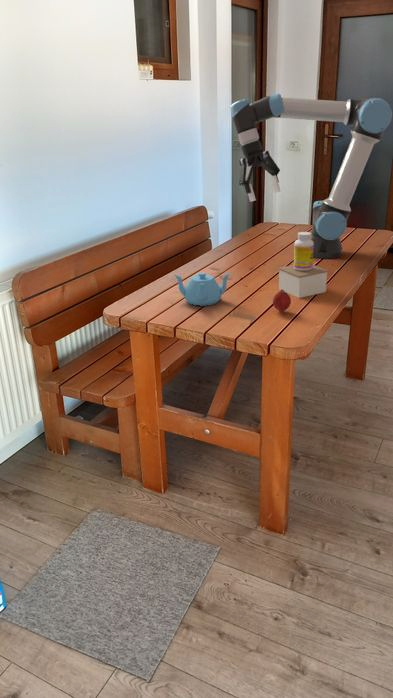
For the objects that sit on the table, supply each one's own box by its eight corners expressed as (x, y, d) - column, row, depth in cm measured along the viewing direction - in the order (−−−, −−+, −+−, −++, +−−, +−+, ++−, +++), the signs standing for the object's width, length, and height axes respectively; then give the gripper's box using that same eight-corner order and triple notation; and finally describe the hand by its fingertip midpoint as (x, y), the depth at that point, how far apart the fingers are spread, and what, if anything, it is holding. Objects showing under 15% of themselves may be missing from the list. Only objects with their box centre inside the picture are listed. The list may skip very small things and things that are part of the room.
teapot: (204, 291, 211) (203, 264, 207) (233, 300, 201) (233, 272, 197) (174, 302, 202) (172, 273, 198) (203, 311, 192) (202, 282, 188)
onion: (271, 309, 192) (271, 286, 188) (288, 308, 192) (288, 285, 189) (274, 315, 186) (275, 292, 183) (292, 314, 187) (292, 291, 183)
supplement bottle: (312, 271, 201) (313, 235, 196) (293, 271, 203) (294, 235, 198) (312, 266, 207) (314, 231, 202) (294, 266, 209) (295, 231, 203)
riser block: (305, 283, 216) (306, 262, 213) (326, 291, 206) (327, 270, 202) (278, 288, 211) (278, 267, 208) (298, 298, 201) (299, 276, 197)
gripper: (266, 138, 231) (281, 190, 237) (220, 152, 219) (236, 206, 224) (279, 133, 225) (293, 186, 231) (232, 147, 213) (248, 203, 218)
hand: (265, 196), depth 228 cm, fingers open, 13 cm apart
